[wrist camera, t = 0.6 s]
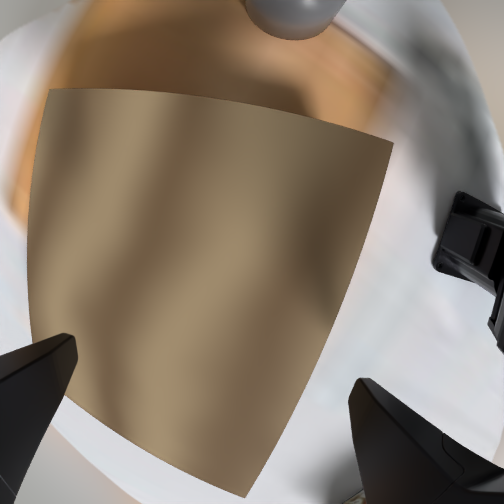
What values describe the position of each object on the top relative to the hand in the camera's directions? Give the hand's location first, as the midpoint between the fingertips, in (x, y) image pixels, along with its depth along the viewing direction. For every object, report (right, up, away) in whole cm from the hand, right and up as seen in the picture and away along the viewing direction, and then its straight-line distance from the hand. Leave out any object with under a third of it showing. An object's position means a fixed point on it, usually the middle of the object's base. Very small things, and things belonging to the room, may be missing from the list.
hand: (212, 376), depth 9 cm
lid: (-4, +1, +5) cm, 6 cm away
